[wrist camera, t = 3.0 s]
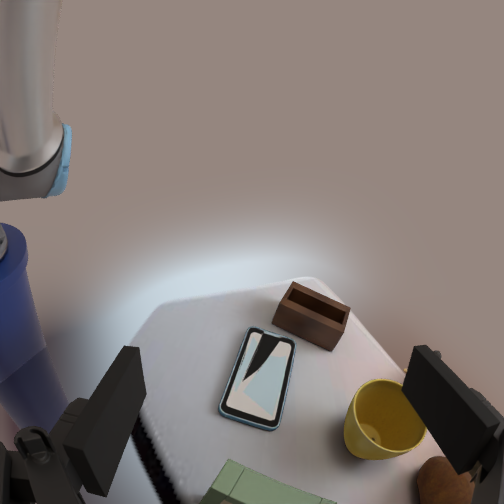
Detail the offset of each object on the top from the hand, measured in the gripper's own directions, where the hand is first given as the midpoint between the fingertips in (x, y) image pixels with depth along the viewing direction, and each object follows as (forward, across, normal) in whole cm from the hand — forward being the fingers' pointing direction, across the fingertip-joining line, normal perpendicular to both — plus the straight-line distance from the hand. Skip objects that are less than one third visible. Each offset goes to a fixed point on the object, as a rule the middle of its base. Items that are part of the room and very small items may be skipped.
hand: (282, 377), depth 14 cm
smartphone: (+22, +1, -16) cm, 27 cm away
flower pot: (+14, +13, -21) cm, 29 cm away
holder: (+33, +9, -13) cm, 36 cm away
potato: (+5, +26, -23) cm, 35 cm away
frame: (+4, -2, -22) cm, 22 cm away
